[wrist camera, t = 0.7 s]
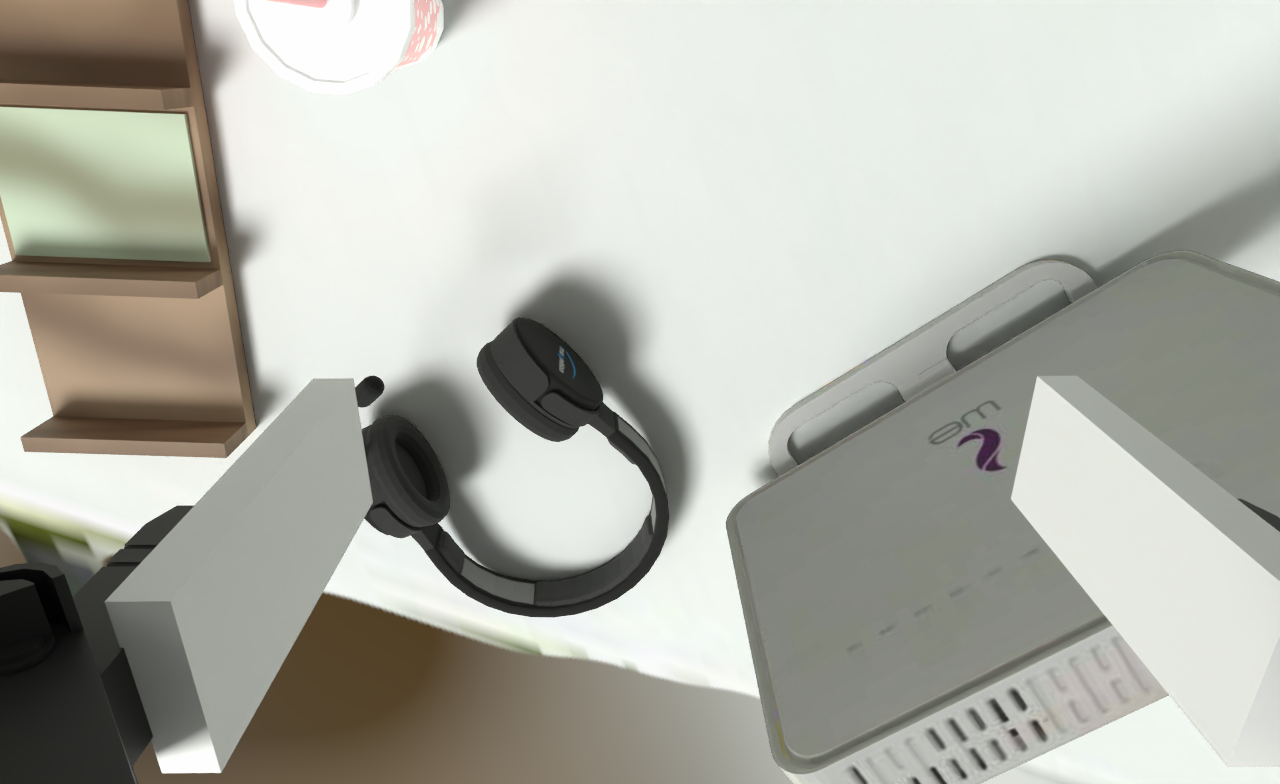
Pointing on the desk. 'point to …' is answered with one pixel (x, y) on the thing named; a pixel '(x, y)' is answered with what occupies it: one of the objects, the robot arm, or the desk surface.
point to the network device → (984, 528)
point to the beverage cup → (340, 39)
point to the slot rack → (118, 230)
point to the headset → (546, 405)
